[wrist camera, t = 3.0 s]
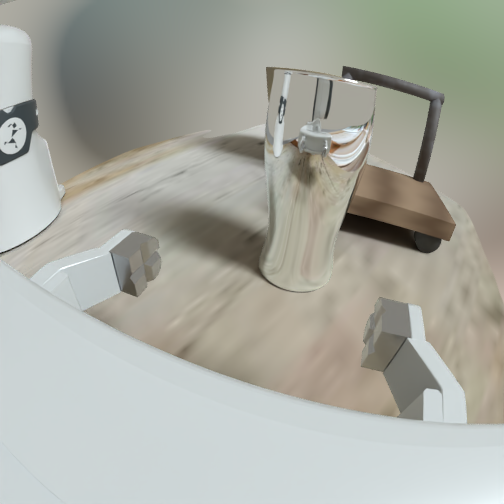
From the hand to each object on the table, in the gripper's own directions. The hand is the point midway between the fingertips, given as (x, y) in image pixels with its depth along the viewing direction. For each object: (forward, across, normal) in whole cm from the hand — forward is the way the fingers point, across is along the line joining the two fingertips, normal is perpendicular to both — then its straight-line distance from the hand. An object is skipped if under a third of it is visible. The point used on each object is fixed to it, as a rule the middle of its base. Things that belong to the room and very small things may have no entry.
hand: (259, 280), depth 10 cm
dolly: (+26, -7, +8) cm, 28 cm away
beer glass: (+12, 0, +8) cm, 15 cm away
